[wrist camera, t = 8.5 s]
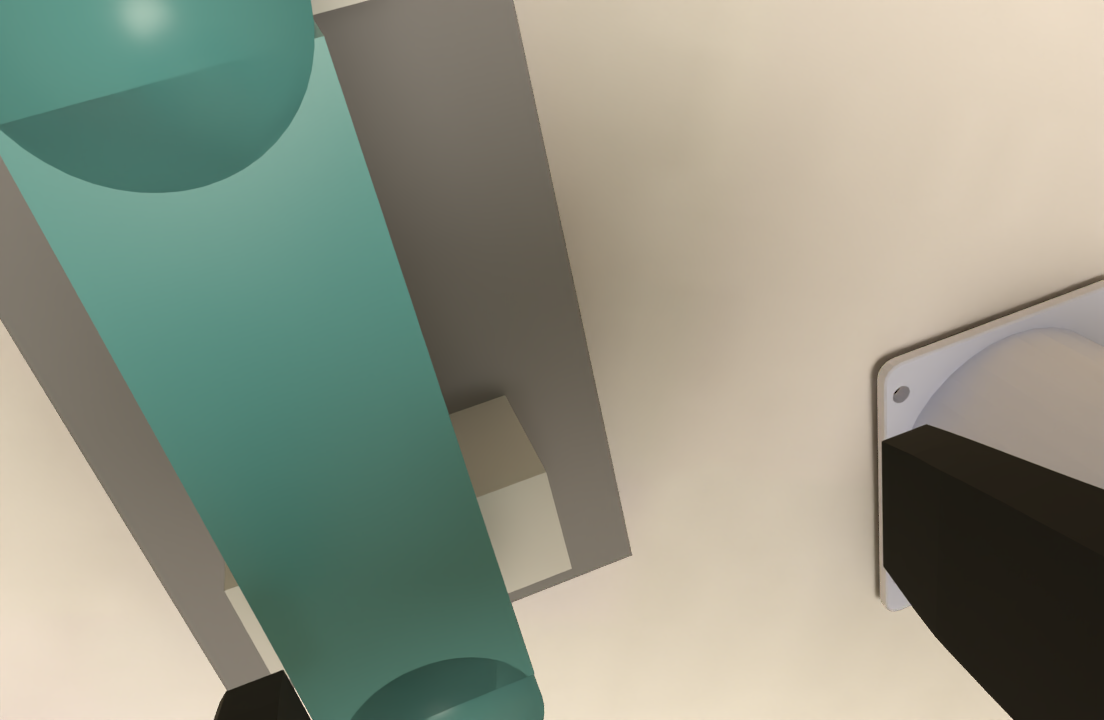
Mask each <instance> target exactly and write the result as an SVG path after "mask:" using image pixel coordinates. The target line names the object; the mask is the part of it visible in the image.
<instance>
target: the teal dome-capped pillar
mask: <svg viewBox="0 0 1104 720" xmlns="http://www.w3.org/2000/svg"><path fill="white" fill-rule="evenodd" d="M0 156H1V157H2V159H3V161H4V163H5V165H6V166H7V168H8V170H9V172H10V174H11V175H12V177H13V179H14V181H15V183H16V185H17V186H18V188H19V190H20V192H21V194H22V195H23V197H24V199H25V201H26V203H27V204H28V206H29V208H30V210H31V212H32V213H33V215H34V217H35V219H36V221H37V222H38V224H39V226H40V228H41V230H42V231H43V233H44V235H45V237H46V239H47V241H48V242H49V244H50V246H51V248H52V250H53V251H54V253H55V255H56V257H57V259H58V260H59V262H60V264H61V266H62V268H63V269H64V271H65V273H66V275H67V277H68V278H69V280H70V282H71V284H72V286H73V288H74V289H75V291H76V293H77V295H78V297H79V298H80V300H81V302H82V304H83V306H84V307H85V309H86V311H87V313H88V315H89V316H90V318H91V320H92V322H93V324H94V325H95V327H96V329H97V331H98V333H99V334H100V336H101V338H102V340H103V342H104V344H105V345H106V347H107V349H108V351H109V353H110V354H111V356H112V358H113V360H114V362H115V363H116V365H117V367H118V369H119V371H120V372H121V374H122V376H123V378H124V380H125V381H126V383H127V385H128V387H129V389H130V391H131V392H132V394H133V396H134V398H135V400H136V401H137V403H138V405H139V407H140V409H141V410H142V412H143V414H144V416H145V418H146V419H147V421H148V423H149V425H150V427H151V428H152V430H153V432H154V434H155V436H156V437H157V439H158V441H159V443H160V445H161V447H162V448H163V450H164V452H165V454H166V456H167V457H168V459H169V461H170V463H171V465H172V466H173V468H174V470H175V472H176V474H177V475H178V477H179V479H180V481H181V483H182V484H183V486H184V488H185V490H186V492H187V493H188V495H189V497H190V499H191V501H192V503H193V504H194V506H195V508H196V510H197V512H198V513H199V515H200V517H201V519H202V521H203V522H204V524H205V526H206V528H207V530H208V531H209V533H210V535H211V537H212V539H213V540H214V542H215V544H216V546H217V548H218V550H219V551H220V553H221V555H222V557H223V559H224V560H225V562H226V564H227V566H228V568H229V569H230V571H231V573H232V575H233V577H234V578H235V580H236V582H237V584H238V586H239V587H240V589H241V591H242V593H243V595H244V596H245V598H246V600H247V602H248V604H249V606H250V607H251V609H252V611H253V613H254V615H255V616H256V618H257V620H258V622H259V624H260V625H261V627H262V629H263V631H264V633H265V634H266V636H267V638H268V640H269V642H270V643H271V645H272V647H273V649H274V651H275V653H276V654H277V656H278V658H279V660H280V662H281V663H282V665H283V667H284V669H285V671H286V672H287V674H288V676H289V678H290V680H291V681H292V683H293V685H294V687H295V689H296V690H297V692H298V694H299V696H300V698H301V699H302V701H303V703H304V705H305V707H306V709H307V710H308V712H309V714H310V716H311V718H312V719H313V720H543V719H544V703H543V699H542V695H541V692H540V690H539V687H538V684H537V682H536V679H535V676H534V671H533V668H532V665H531V662H530V658H529V655H528V652H527V649H526V646H525V643H524V640H523V637H522V634H521V631H520V628H519V625H518V622H517V619H516V616H515V613H514V610H513V607H512V604H511V601H510V598H509V595H508V592H507V589H506V586H505V583H504V580H503V577H502V574H501V571H500V568H499V565H498V562H497V559H496V556H495V553H494V549H493V546H492V543H491V540H490V537H489V534H488V531H487V528H486V525H485V522H484V519H483V516H482V513H481V510H480V507H479V504H478V501H477V498H476V495H475V492H474V489H473V486H472V483H471V480H470V477H469V474H468V471H467V468H466V465H465V462H464V459H463V456H462V453H461V450H460V447H459V444H458V440H457V437H456V434H455V431H454V428H453V425H452V422H451V419H450V416H449V413H448V410H447V407H446V404H445V401H444V398H443V395H442V392H441V389H440V386H439V383H438V380H437V377H436V374H435V371H434V368H433V365H432V362H431V359H430V356H429V353H428V350H427V347H426V344H425V341H424V338H423V335H422V331H421V328H420V325H419V322H418V319H417V316H416V313H415V310H414V307H413V304H412V301H411V298H410V295H409V292H408V289H407V286H406V283H405V280H404V277H403V274H402V271H401V268H400V265H399V262H398V259H397V256H396V253H395V250H394V247H393V244H392V241H391V238H390V235H389V232H388V229H387V226H386V222H385V219H384V216H383V213H382V210H381V207H380V204H379V201H378V198H377V195H376V192H375V189H374V186H373V183H372V180H371V177H370V174H369V171H368V168H367V165H366V162H365V159H364V156H363V153H362V150H361V147H360V144H359V141H358V138H357V135H356V132H355V129H354V126H353V123H352V120H351V116H350V113H349V110H348V107H347V104H346V101H345V98H344V95H343V92H342V89H341V86H340V83H339V80H338V77H337V74H336V71H335V68H334V65H333V62H332V59H331V56H330V53H329V50H328V47H327V44H326V41H325V38H324V35H323V34H322V32H321V31H320V29H319V27H318V26H317V24H316V23H315V21H314V19H313V12H312V5H311V0H0Z"/></svg>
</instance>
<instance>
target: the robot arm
mask: <svg viewBox="0 0 1104 720" xmlns="http://www.w3.org/2000/svg"><path fill="white" fill-rule="evenodd" d="M898 388H900V389H899V390H898V391H897V393H896V394H894V393H895V391H896V390H897V389H898ZM877 408H878V485H879V563H880V600H881V603H882V604H883V605H884V606H885V607H886V608H887V609H888V610H889V611H898V610H901V609H904V608H906V607H908V606H912V607H913V608H914V610H915V611H916V612H917V613H918V615H919V616H920V617H921V619H922V620H923V621H924V623H925V624H926V625H927V627H928V628H929V629H930V630H931V632H932V633H933V634H934V636H935V637H936V638H937V639H938V640H939V641H940V642H941V643H942V645H943V646H944V647H945V648H946V649H947V650H948V651H949V652H950V653H951V654H952V655H953V656H954V658H955V659H956V660H957V661H958V662H959V663H960V664H961V665H962V666H963V667H964V668H965V669H966V670H967V671H968V672H969V673H970V675H971V676H972V677H973V678H974V679H975V680H976V681H977V682H978V683H979V684H980V685H981V686H982V687H983V688H984V689H985V690H986V692H987V693H988V694H989V695H990V696H991V697H992V698H993V699H994V700H995V701H996V702H997V703H998V704H999V705H1000V706H1001V707H1002V708H1003V709H1004V710H1005V711H1006V712H1007V713H1008V714H1009V716H1010V717H1011V718H1012V719H1013V720H1104V280H1101V281H1099V282H1096V283H1093V284H1091V285H1088V286H1085V287H1083V288H1080V289H1077V290H1075V291H1072V292H1069V293H1066V294H1064V295H1061V296H1058V297H1056V298H1053V299H1050V300H1048V301H1045V302H1042V303H1040V304H1037V305H1034V306H1031V307H1029V308H1026V309H1023V310H1021V311H1018V312H1015V313H1013V314H1010V315H1007V316H1005V317H1002V318H999V319H997V320H994V321H991V322H988V323H986V324H983V325H980V326H978V327H975V328H972V329H970V330H967V331H964V332H962V333H959V334H956V335H954V336H951V337H948V338H945V339H943V340H940V341H937V342H935V343H932V344H929V345H927V346H924V347H921V348H919V349H916V350H913V351H911V352H908V353H905V354H902V355H900V356H897V357H894V358H892V359H890V360H889V361H887V362H886V363H885V364H884V365H883V366H882V367H881V369H880V371H879V373H878V377H877ZM214 720H311V719H310V717H309V716H308V714H307V712H306V710H305V708H304V706H303V705H302V703H301V701H300V699H299V697H298V695H297V694H296V692H295V690H294V688H293V686H292V684H291V682H290V681H289V679H288V677H287V675H286V673H285V671H284V670H281V671H278V672H275V673H273V674H270V675H268V676H265V677H262V678H260V679H257V680H255V681H252V682H249V683H247V684H244V685H241V686H239V687H236V688H234V689H231V690H228V691H226V693H225V694H224V696H223V698H222V700H221V701H220V703H219V706H218V709H217V712H216V715H215V718H214Z"/></svg>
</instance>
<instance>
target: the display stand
mask: <svg viewBox="0 0 1104 720" xmlns="http://www.w3.org/2000/svg"><path fill="white" fill-rule="evenodd" d="M311 5H312V12H313V19H314V21H315V23H316V24H317V26H318V27H319V29H320V31H321V32H322V34H323V35H324V38H325V41H326V44H327V47H328V50H329V53H330V56H331V59H332V62H333V65H334V68H335V71H336V74H337V77H338V80H339V83H340V86H341V89H342V92H343V95H344V98H345V101H346V104H347V107H348V110H349V113H350V116H351V120H352V123H353V126H354V129H355V132H356V135H357V138H358V141H359V144H360V147H361V150H362V153H363V156H364V159H365V162H366V165H367V168H368V171H369V174H370V177H371V180H372V183H373V186H374V189H375V192H376V195H377V198H378V201H379V204H380V207H381V210H382V213H383V216H384V219H385V222H386V226H387V229H388V232H389V235H390V238H391V241H392V244H393V247H394V250H395V253H396V256H397V259H398V262H399V265H400V268H401V271H402V274H403V277H404V280H405V283H406V286H407V289H408V292H409V295H410V298H411V301H412V304H413V307H414V310H415V313H416V316H417V319H418V322H419V325H420V328H421V331H422V335H423V338H424V341H425V344H426V347H427V350H428V353H429V356H430V359H431V362H432V365H433V368H434V371H435V374H436V377H437V380H438V383H439V386H440V389H441V392H442V395H443V398H444V401H445V404H446V407H447V410H448V413H449V416H450V419H451V422H452V425H453V428H454V431H455V434H456V437H457V440H458V444H459V447H460V450H461V453H462V456H463V459H464V462H465V465H466V468H467V471H468V474H469V477H470V480H471V483H472V486H473V489H474V492H475V495H476V498H477V501H478V504H479V507H480V510H481V513H482V516H483V519H484V522H485V525H486V528H487V531H488V534H489V537H490V540H491V543H492V546H493V549H494V553H495V556H496V559H497V562H498V565H499V568H500V571H501V574H502V577H503V580H504V583H505V586H506V589H507V592H508V595H509V598H510V601H511V602H514V601H517V600H519V599H522V598H524V597H527V596H529V595H532V594H534V593H537V592H539V591H542V590H545V589H547V588H550V587H552V586H555V585H557V584H560V583H562V582H565V581H567V580H570V579H573V578H575V577H578V576H580V575H583V574H585V573H588V572H590V571H593V570H596V569H598V568H601V567H603V566H606V565H608V564H611V563H613V562H616V561H618V560H621V559H624V558H626V557H629V556H631V555H632V553H631V548H630V544H629V539H628V534H627V530H626V525H625V520H624V516H623V511H622V506H621V502H620V497H619V492H618V488H617V483H616V478H615V474H614V469H613V464H612V460H611V455H610V450H609V446H608V441H607V436H606V432H605V427H604V422H603V418H602V413H601V408H600V404H599V399H598V394H597V390H596V385H595V380H594V376H593V371H592V366H591V362H590V357H589V352H588V347H587V343H586V338H585V333H584V329H583V324H582V319H581V315H580V310H579V305H578V301H577V296H576V291H575V287H574V282H573V277H572V273H571V268H570V263H569V259H568V254H567V249H566V245H565V240H564V235H563V231H562V226H561V221H560V217H559V212H558V207H557V203H556V198H555V193H554V189H553V184H552V179H551V175H550V170H549V165H548V161H547V156H546V151H545V147H544V142H543V137H542V133H541V128H540V123H539V118H538V114H537V109H536V104H535V100H534V95H533V90H532V86H531V81H530V76H529V72H528V67H527V62H526V58H525V53H524V48H523V44H522V39H521V34H520V30H519V25H518V20H517V16H516V11H515V6H514V2H513V0H311ZM0 319H1V321H2V323H3V324H4V326H5V327H6V329H7V331H8V332H9V334H10V336H11V337H12V339H13V341H14V342H15V344H16V345H17V347H18V349H19V350H20V352H21V354H22V355H23V357H24V359H25V360H26V362H27V364H28V365H29V367H30V368H31V370H32V372H33V373H34V375H35V377H36V378H37V380H38V382H39V383H40V385H41V386H42V388H43V390H44V391H45V393H46V395H47V396H48V398H49V400H50V401H51V403H52V404H53V406H54V408H55V409H56V411H57V413H58V414H59V416H60V418H61V419H62V421H63V423H64V424H65V426H66V427H67V429H68V431H69V432H70V434H71V436H72V437H73V439H74V441H75V442H76V444H77V445H78V447H79V449H80V450H81V452H82V454H83V455H84V457H85V459H86V460H87V462H88V463H89V465H90V467H91V468H92V470H93V472H94V473H95V475H96V477H97V478H98V480H99V482H100V483H101V485H102V486H103V488H104V490H105V491H106V493H107V495H108V496H109V498H110V500H111V501H112V503H113V504H114V506H115V508H116V509H117V511H118V513H119V514H120V516H121V518H122V519H123V521H124V522H125V524H126V526H127V527H128V529H129V531H130V532H131V534H132V536H133V537H134V539H135V541H136V542H137V544H138V545H139V547H140V549H141V550H142V552H143V554H144V555H145V557H146V559H147V560H148V562H149V563H150V565H151V567H152V568H153V570H154V572H155V573H156V575H157V577H158V578H159V580H160V581H161V583H162V585H163V586H164V588H165V590H166V591H167V593H168V595H169V596H170V598H171V599H172V601H173V603H174V604H175V606H176V608H177V609H178V611H179V613H180V614H181V616H182V618H183V619H184V621H185V622H186V624H187V626H188V627H189V629H190V631H191V632H192V634H193V636H194V637H195V639H196V640H197V642H198V644H199V645H200V647H201V649H202V650H203V652H204V654H205V655H206V657H207V658H208V660H209V662H210V663H211V665H212V667H213V668H214V670H215V672H216V673H217V675H218V677H219V678H220V680H221V681H222V683H223V685H224V686H225V688H226V690H227V691H228V690H231V689H234V688H236V687H239V686H241V685H244V684H247V683H249V682H252V681H255V680H257V679H260V678H262V677H265V676H268V675H270V674H273V673H275V672H278V671H281V670H284V671H285V669H284V667H283V665H282V663H281V662H280V660H279V658H278V656H277V654H276V653H275V651H274V649H273V647H272V645H271V643H270V642H269V640H268V638H267V636H266V634H265V633H264V631H263V629H262V627H261V625H260V624H259V622H258V620H257V618H256V616H255V615H254V613H253V611H252V609H251V607H250V606H249V604H248V602H247V600H246V598H245V596H244V595H243V593H242V591H241V589H240V587H239V586H238V584H237V582H236V580H235V578H234V577H233V575H232V573H231V571H230V569H229V568H228V566H227V564H226V562H225V560H224V559H223V557H222V555H221V553H220V551H219V550H218V548H217V546H216V544H215V542H214V540H213V539H212V537H211V535H210V533H209V531H208V530H207V528H206V526H205V524H204V522H203V521H202V519H201V517H200V515H199V513H198V512H197V510H196V508H195V506H194V504H193V503H192V501H191V499H190V497H189V495H188V493H187V492H186V490H185V488H184V486H183V484H182V483H181V481H180V479H179V477H178V475H177V474H176V472H175V470H174V468H173V466H172V465H171V463H170V461H169V459H168V457H167V456H166V454H165V452H164V450H163V448H162V447H161V445H160V443H159V441H158V439H157V437H156V436H155V434H154V432H153V430H152V428H151V427H150V425H149V423H148V421H147V419H146V418H145V416H144V414H143V412H142V410H141V409H140V407H139V405H138V403H137V401H136V400H135V398H134V396H133V394H132V392H131V391H130V389H129V387H128V385H127V383H126V381H125V380H124V378H123V376H122V374H121V372H120V371H119V369H118V367H117V365H116V363H115V362H114V360H113V358H112V356H111V354H110V353H109V351H108V349H107V347H106V345H105V344H104V342H103V340H102V338H101V336H100V334H99V333H98V331H97V329H96V327H95V325H94V324H93V322H92V320H91V318H90V316H89V315H88V313H87V311H86V309H85V307H84V306H83V304H82V302H81V300H80V298H79V297H78V295H77V293H76V291H75V289H74V288H73V286H72V284H71V282H70V280H69V278H68V277H67V275H66V273H65V271H64V269H63V268H62V266H61V264H60V262H59V260H58V259H57V257H56V255H55V253H54V251H53V250H52V248H51V246H50V244H49V242H48V241H47V239H46V237H45V235H44V233H43V231H42V230H41V228H40V226H39V224H38V222H37V221H36V219H35V217H34V215H33V213H32V212H31V210H30V208H29V206H28V204H27V203H26V201H25V199H24V197H23V195H22V194H21V192H20V190H19V188H18V186H17V185H16V183H15V181H14V179H13V177H12V175H11V174H10V172H9V170H8V168H7V166H6V165H5V163H4V161H3V159H2V157H1V156H0ZM285 673H286V675H287V677H288V679H289V681H290V682H291V684H292V686H293V688H295V687H294V685H293V683H292V681H291V680H290V678H289V676H288V674H287V672H286V671H285Z"/></svg>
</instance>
